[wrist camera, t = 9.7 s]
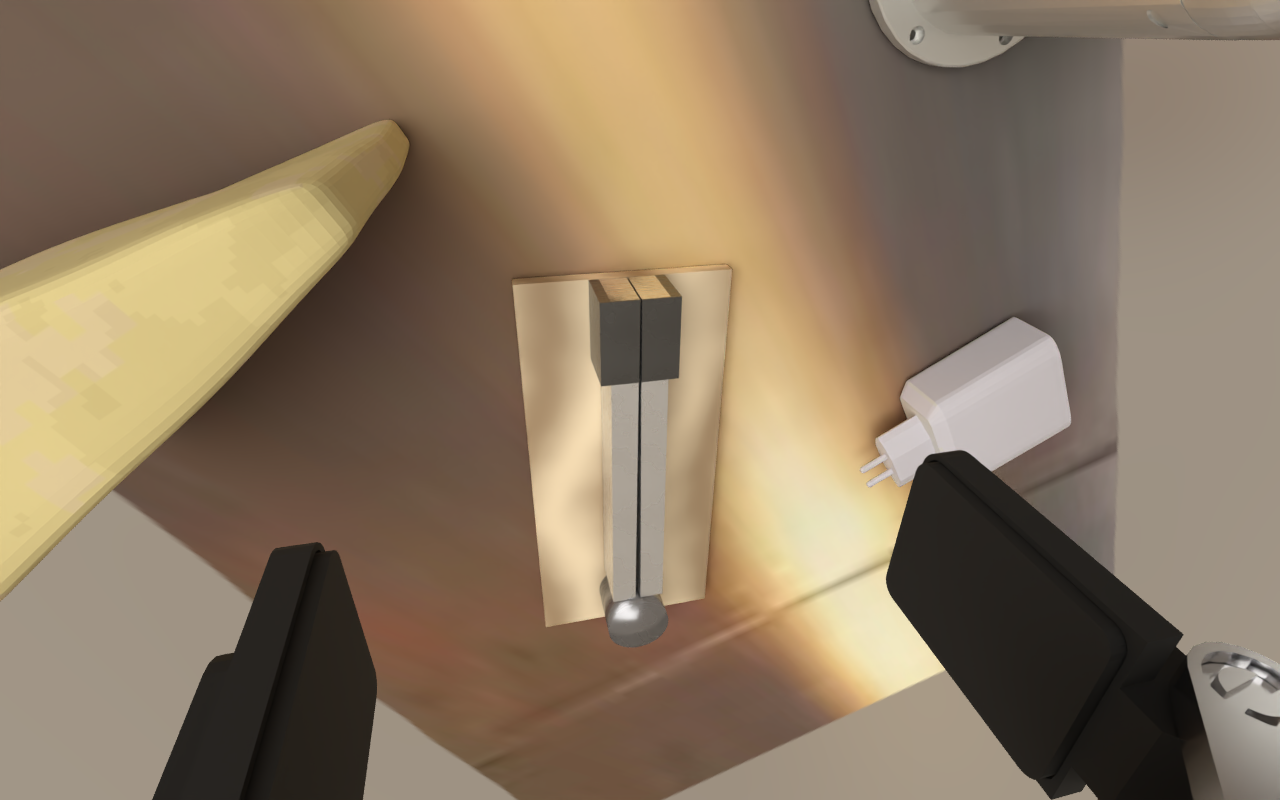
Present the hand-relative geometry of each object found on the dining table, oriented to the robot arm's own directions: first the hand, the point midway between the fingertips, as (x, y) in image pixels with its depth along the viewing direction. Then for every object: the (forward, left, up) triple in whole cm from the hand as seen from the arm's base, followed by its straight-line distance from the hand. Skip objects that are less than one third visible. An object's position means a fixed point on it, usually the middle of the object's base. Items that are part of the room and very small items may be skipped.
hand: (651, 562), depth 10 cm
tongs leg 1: (-4, +16, -27) cm, 32 cm away
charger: (-30, +18, -29) cm, 45 cm away
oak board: (-6, +19, -28) cm, 35 cm away
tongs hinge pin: (-6, +30, -27) cm, 41 cm away
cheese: (+15, +2, -29) cm, 32 cm away
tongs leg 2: (-7, +16, -27) cm, 32 cm away
